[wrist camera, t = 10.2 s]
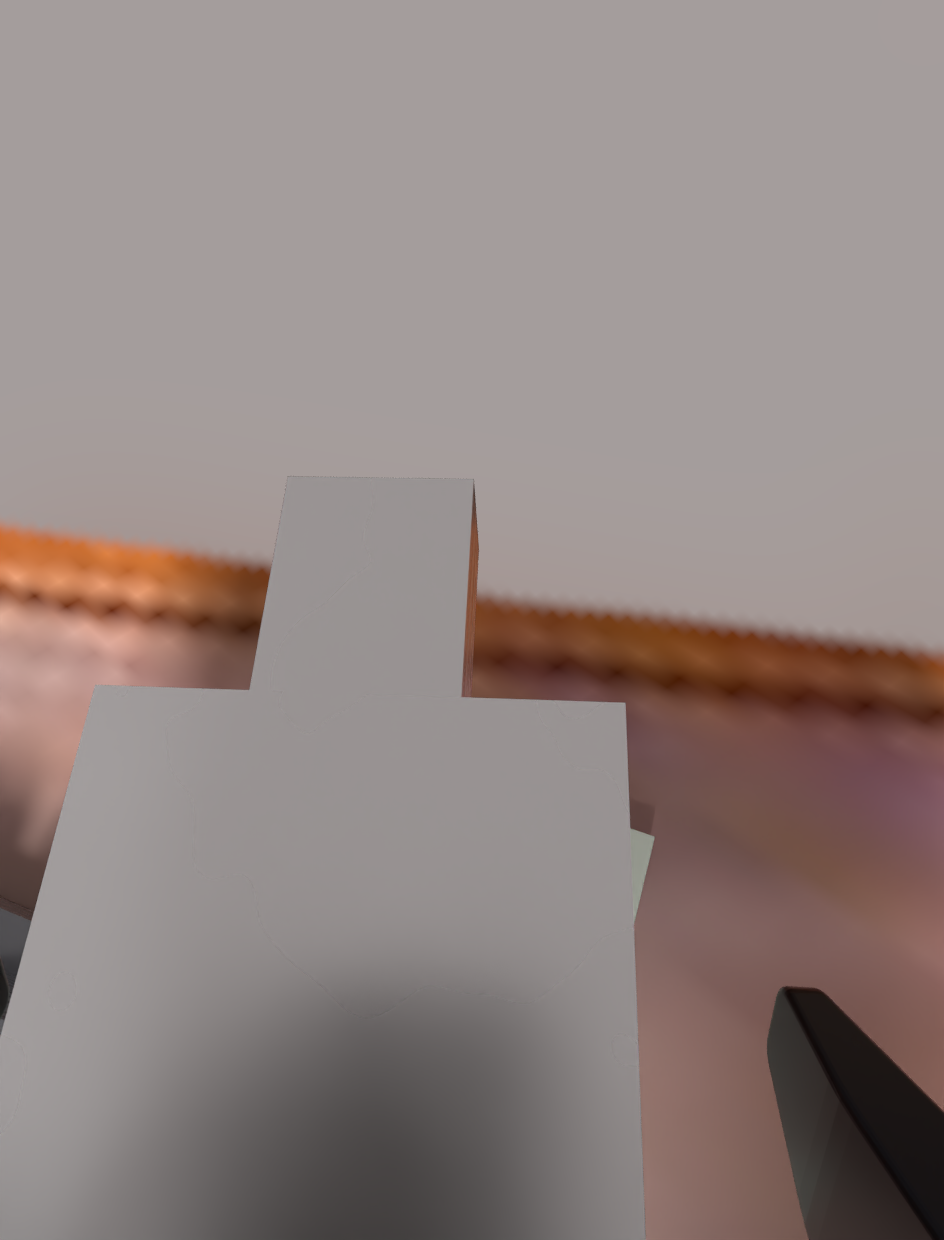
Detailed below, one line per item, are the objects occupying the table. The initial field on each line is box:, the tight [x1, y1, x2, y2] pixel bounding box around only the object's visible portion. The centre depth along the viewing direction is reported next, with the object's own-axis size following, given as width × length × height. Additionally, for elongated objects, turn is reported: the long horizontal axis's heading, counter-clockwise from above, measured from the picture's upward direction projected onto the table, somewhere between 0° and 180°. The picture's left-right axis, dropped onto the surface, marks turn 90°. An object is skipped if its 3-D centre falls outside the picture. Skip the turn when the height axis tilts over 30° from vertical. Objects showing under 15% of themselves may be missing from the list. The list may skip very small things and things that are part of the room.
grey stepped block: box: [0, 476, 646, 1240], centre depth 11 cm, size 7×5×10 cm
